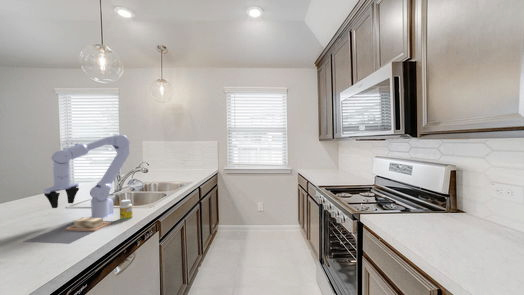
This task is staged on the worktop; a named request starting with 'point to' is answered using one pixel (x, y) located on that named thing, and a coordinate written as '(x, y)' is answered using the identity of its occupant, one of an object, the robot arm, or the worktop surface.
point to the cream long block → (88, 223)
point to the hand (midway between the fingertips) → (63, 205)
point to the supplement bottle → (126, 210)
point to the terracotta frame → (88, 228)
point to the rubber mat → (62, 235)
